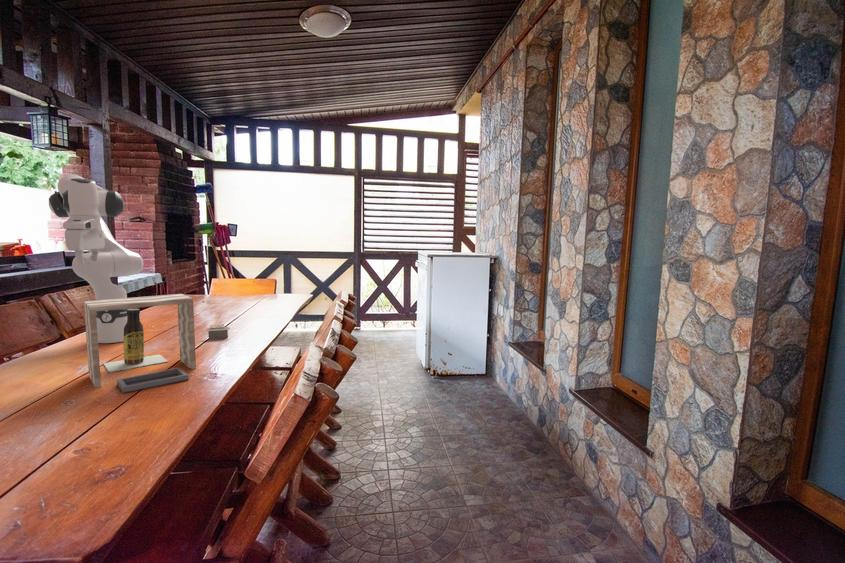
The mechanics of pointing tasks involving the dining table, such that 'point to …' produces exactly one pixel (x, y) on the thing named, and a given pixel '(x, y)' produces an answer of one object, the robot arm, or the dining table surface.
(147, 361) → the pad
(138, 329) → the sauce bottle
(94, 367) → the tunnel
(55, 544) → the dining table surface
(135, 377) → the tray
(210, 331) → the platform
